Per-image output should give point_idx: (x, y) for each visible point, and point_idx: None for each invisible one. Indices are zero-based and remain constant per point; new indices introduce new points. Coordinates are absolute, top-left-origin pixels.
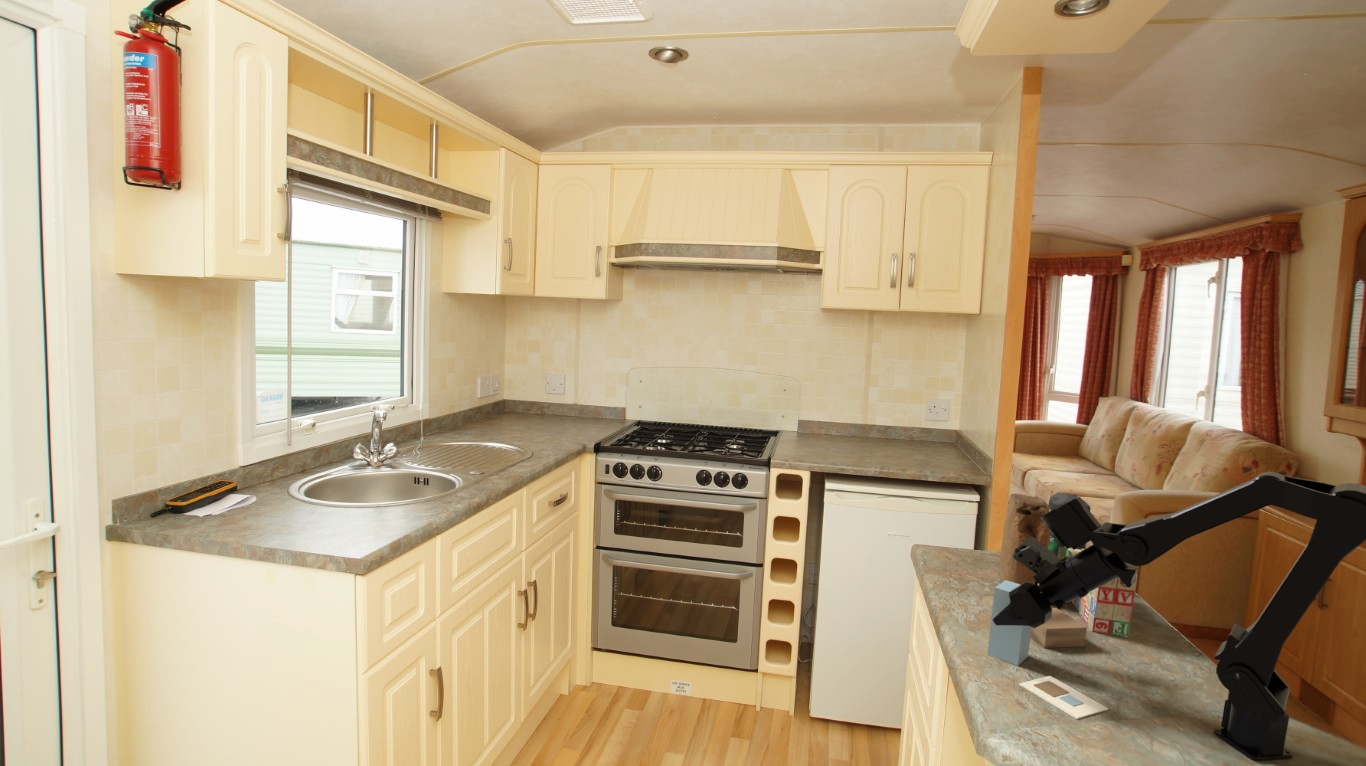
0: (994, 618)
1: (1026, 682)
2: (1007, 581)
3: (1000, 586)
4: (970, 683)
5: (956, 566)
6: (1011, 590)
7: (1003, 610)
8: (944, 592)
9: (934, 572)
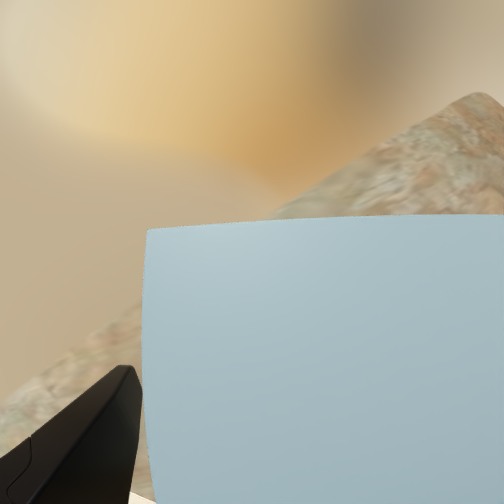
0: (109, 376)
1: (141, 500)
2: (500, 240)
3: (277, 263)
4: (32, 381)
5: (500, 129)
6: (268, 473)
7: (34, 437)
8: (433, 135)
9: (461, 110)
